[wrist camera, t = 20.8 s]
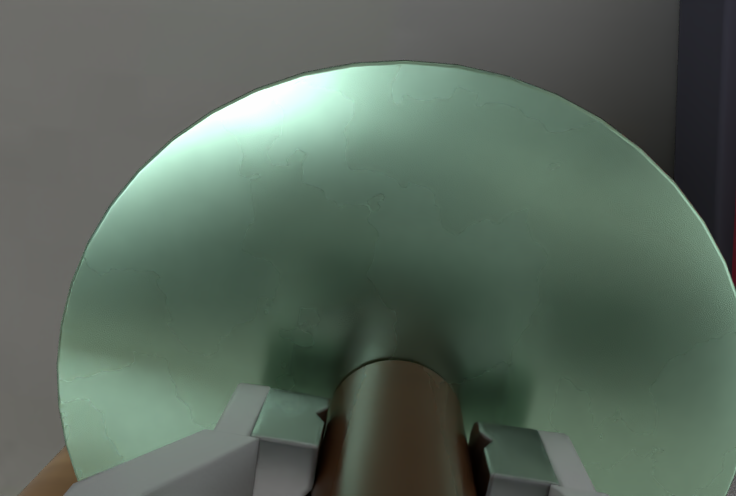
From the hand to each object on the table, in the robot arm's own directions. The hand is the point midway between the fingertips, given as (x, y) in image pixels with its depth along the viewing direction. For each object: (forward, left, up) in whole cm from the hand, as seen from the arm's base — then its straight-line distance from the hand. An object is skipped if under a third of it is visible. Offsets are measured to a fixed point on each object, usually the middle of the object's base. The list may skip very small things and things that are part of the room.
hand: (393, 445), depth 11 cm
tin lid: (0, 0, -2) cm, 2 cm away
